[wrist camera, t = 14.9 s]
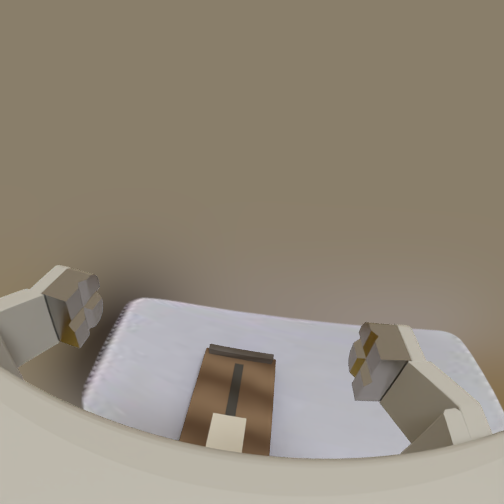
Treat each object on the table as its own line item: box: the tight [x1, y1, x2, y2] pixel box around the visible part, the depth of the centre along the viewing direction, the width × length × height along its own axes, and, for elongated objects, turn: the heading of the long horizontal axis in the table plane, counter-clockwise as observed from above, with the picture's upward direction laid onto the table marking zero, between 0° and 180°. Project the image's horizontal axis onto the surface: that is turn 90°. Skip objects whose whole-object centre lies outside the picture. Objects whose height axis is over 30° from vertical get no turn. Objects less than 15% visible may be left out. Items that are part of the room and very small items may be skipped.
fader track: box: [179, 344, 276, 456], centre depth 28 cm, size 28×10×3 cm, turn 174°
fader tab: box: [206, 413, 246, 453], centre depth 20 cm, size 6×6×12 cm
